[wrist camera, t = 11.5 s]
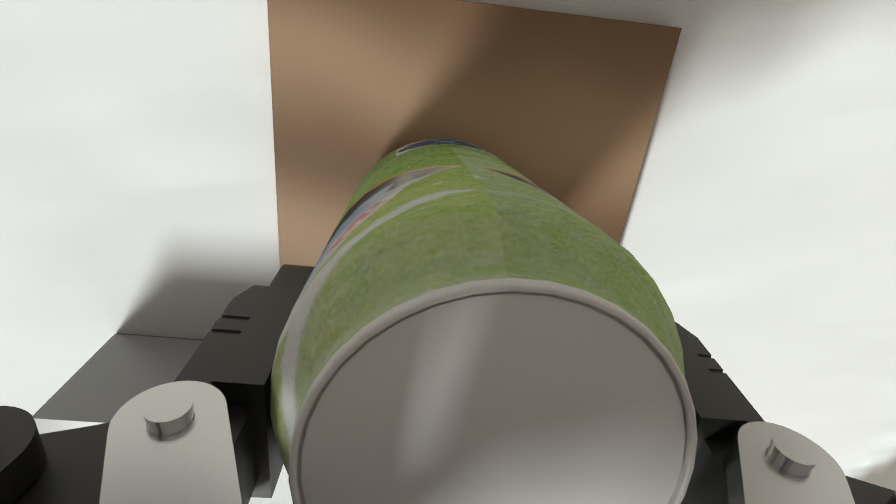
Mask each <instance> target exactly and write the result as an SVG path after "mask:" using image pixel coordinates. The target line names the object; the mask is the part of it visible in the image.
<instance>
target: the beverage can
mask: <svg viewBox="0 0 896 504" xmlns="http://www.w3.org/2000/svg"><path fill="white" fill-rule="evenodd" d="M270 415H271V420H272V425H273V430H274V435H275V440H276V445H277V449H278V452H279V454H280V456H281V459H282V461H283V463H284V466H285V468H286V470H287V473H288V475H289V485H290V491H291V496H292V501H293V504H681V502H682V500H683V498H684V497H685V494H686V491H687V488H688V485H689V482H690V479H691V476H692V473H693V470H694V464H695V456H696V448H697V440H698V438H697V426H696V414H695V408H694V405H693V401H692V398H691V395H690V392H689V388H688V385H687V382H686V380H685V372H684V361H683V349H682V345H681V341H680V338H679V335H678V331H677V328H676V325H675V322H674V318H673V315H672V312H671V310H670V308H669V307H668V305H667V303H666V301H665V299H664V297H663V296H662V294H661V292H660V290H659V288H658V287H657V285H656V283H655V281H654V280H653V278H652V277H651V276H650V275H649V274H648V273H647V271H646V270H645V269H644V268H643V267H642V266H641V264H640V263H639V262H638V261H637V260H636V259H635V257H634V256H633V255H632V254H631V253H630V252H629V251H628V250H626V249H625V248H624V247H623V246H621V245H620V244H619V243H617V242H616V241H615V240H614V239H612V238H611V237H610V236H608V235H607V234H606V233H605V232H603V231H602V230H601V229H599V228H598V227H596V226H595V225H593V224H592V223H591V222H589V221H588V220H586V219H585V218H583V217H582V216H581V215H579V214H578V213H576V212H575V211H573V210H572V209H571V208H569V207H568V206H566V205H565V204H563V203H562V202H561V201H559V200H558V199H556V198H555V197H553V196H552V195H551V194H549V193H548V192H546V191H545V190H543V189H542V188H541V187H539V186H538V185H536V184H535V183H533V182H532V181H531V180H529V179H528V178H526V177H525V176H523V175H522V174H521V173H519V172H518V171H516V170H515V169H513V168H512V167H510V166H509V165H508V164H506V163H505V162H503V161H502V160H500V159H499V158H498V157H496V156H495V155H493V154H492V153H490V152H488V151H486V150H484V149H483V148H481V147H479V146H477V145H474V144H471V143H467V142H464V141H461V140H453V139H444V138H440V139H426V140H422V141H418V142H414V143H410V144H407V145H405V146H403V147H400V148H398V149H396V150H394V151H392V152H391V153H389V154H388V155H386V156H385V157H384V158H382V159H381V160H379V161H378V162H377V163H376V164H375V165H374V166H373V167H372V168H371V169H370V170H369V171H368V172H367V174H366V175H365V176H364V178H363V179H362V181H361V182H360V184H359V185H358V187H357V189H356V191H355V192H354V194H353V196H352V198H351V200H350V202H349V204H348V206H347V207H346V209H345V211H344V213H343V215H342V217H341V219H340V221H339V222H338V224H337V226H336V228H335V230H334V232H333V234H332V236H331V237H330V239H329V241H328V243H327V245H326V247H325V249H324V251H323V253H322V254H321V256H320V258H319V260H318V262H317V264H316V266H315V268H314V269H313V271H312V273H311V275H310V277H309V279H308V281H307V283H306V284H305V286H304V288H303V290H302V292H301V294H300V296H299V298H298V299H297V301H296V303H295V305H294V307H293V309H292V311H291V314H290V316H289V318H288V320H287V323H286V325H285V327H284V329H283V332H282V334H281V336H280V338H279V341H278V345H277V350H276V354H275V359H274V363H273V368H272V373H271V383H270Z"/></svg>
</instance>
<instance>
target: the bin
mask: <svg viewBox="0 0 896 504" xmlns="http://www.w3.org/2000/svg"><path fill="white" fill-rule="evenodd" d="M202 341H203V340H192V339H179V338H165V337H152V336H139V335H126V334H114V335H113V336H112V337H111V338H110V339H109V340H108V341H107V342H106V343H105V344H104V345H103V346H102V347H101V348H100V349H99V350H98V351H97V352H96V353H95V354H94V355H93V356H92V357H91V358H90V359H89V360H88V361H87V362H86V363H85V364H84V365H83V366H82V367H81V368H80V369H79V370H78V371H77V372H76V373H75V374H74V375H73V376H72V377H71V378H70V379H69V380H68V381H67V382H66V383H65V384H64V385H63V386H62V387H61V388H60V389H59V390H58V391H57V392H56V393H55V394H54V395H53V396H52V397H51V398H50V399H49V400H48V401H47V402H46V403H45V404H44V405H43V406H42V407H41V408H40V409H39V410H38V411H37V412H36V413H35V414H34V415H33V418H34V420H35V422H36V425H37V428H38V431H39V434H44V433H50V432H56V431H62V430H68V429H74V428H80V427H86V426H93V425H98V424H103V423H108V422H111V420H112V418H113V416H114V415H115V414H116V412H117V411H118V410H119V409H120V408H121V407H122V406H123V405H124V404H125V403H126V402H128V401H129V400H130V399H132V398H133V397H135V396H137V395H138V394H140V393H142V392H144V391H146V390H148V389H150V388H153V387H156V386H159V385H162V384H166V383H170V382H174V380H175V379H176V378H177V376H178V375H179V373H180V372H181V371H182V369H183V368H184V366H185V365H186V364H187V362H188V361H189V360H190V358H191V357H192V355H193V354H194V353H195V351H196V350H197V348H198V347H199V346H200V344H201V343H202Z"/></svg>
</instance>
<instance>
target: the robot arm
mask: <svg viewBox="0 0 896 504" xmlns="http://www.w3.org/2000/svg"><path fill="white" fill-rule="evenodd" d="M314 268H315V267H312V266H301V265H289V264H284V265H283V266H282V267H281V268H280V270H279V272H278V273H277V275H276V277H275V278H274V280H273V281H272V283H271V285H270V286H269V287H264V286H253V287H251V288H249V289H248V290H246V291H245V292H243V293H241V294H240V295H238V296H237V297H235V298H233V300H232V301H231V303H230V304H229V305H228V307H227V308H226V309H225V311H224V312H223V314H222V317H221V318H219V319H218V321H217V322H216V323H215V325H214V326H213V328H212V331H211V332H209V333H208V334H207V336H206V337H205V339H204V340H203V341H202V343H201V344H200V346H199V347H198V348H197V350H196V351H195V353H194V354H193V355H192V357H191V358H190V360H189V361H188V362H187V364H186V365H185V366H184V368H183V369H182V371H181V372H180V373H179V375H178V376H177V378H176V379H175V380H174V382H170V383H166V384H162V385H159V386H156V387H153V388H150V389H148V390H146V391H144V392H142V393H140V394H138V395H137V396H135V397H133V398H132V399H130V400H129V401H128V402H126V403H125V404H124V405H123V406H122V407H121V408H120V409H119V410H118V411H117V412H116V414H115V415H114V416H113V418H112V420H111V422H108V423H103V424H98V425H93V426H86V427H80V428H74V429H68V430H62V431H56V432H50V433H44V434H39V431H38V428H37V425H36V422H35V420H34V418H33V416H32V415H31V414H30V413H29V412H27V411H25V410H23V409H20V408H16V407H10V406H0V504H248V503H249V501H250V498H251V497H262V498H272V495H273V492H274V490H275V487H276V484H277V481H278V478H279V475H280V472H281V469H282V466H283V461H282V459H281V456H280V454H279V452H278V449H277V445H276V440H275V435H274V430H273V425H272V420H271V415H270V383H271V373H272V368H273V363H274V359H275V354H276V350H277V345H278V341H279V338H280V336H281V334H282V332H283V329H284V327H285V325H286V323H287V320H288V318H289V316H290V314H291V311H292V309H293V307H294V305H295V303H296V301H297V299H298V298H299V296H300V294H301V292H302V290H303V288H304V286H305V284H306V283H307V281H308V279H309V277H310V275H311V273H312V271H313V269H314ZM675 325H676V328H677V331H678V335H679V338H680V341H681V345H682V349H683V361H684V372H685V380H686V382H687V385H688V388H689V392H690V395H691V398H692V401H693V405H694V408H695V414H696V426H697V438H698V440H697V448H696V456H695V464H694V470H693V473H692V476H691V479H690V482H689V485H688V488H687V491H686V494H685V497H684V498H683V500H682V502H681V504H896V491H893V490H890V489H887V488H884V487H880V486H877V485H874V484H870V483H867V482H864V481H861V480H857V479H854V478H851V477H848V476H845V474H844V472H843V470H842V469H841V467H840V466H839V465H838V463H837V462H836V461H835V460H834V459H833V458H832V457H831V456H830V455H829V454H828V453H827V452H826V451H825V450H824V449H822V448H821V447H820V446H819V445H817V444H816V443H814V442H813V441H811V440H810V439H808V438H807V437H805V436H803V435H801V434H799V433H797V432H795V431H793V430H791V429H789V428H786V427H784V426H780V425H777V424H774V423H769V422H765V421H764V420H763V419H762V417H761V416H760V415H759V414H758V413H757V411H756V410H755V409H754V408H753V406H752V405H751V404H750V403H749V401H748V400H747V399H746V398H745V396H744V395H743V394H742V393H741V391H740V390H739V389H738V388H737V386H736V385H735V384H734V383H733V381H732V380H731V379H730V378H729V377H728V375H727V374H726V373H723V369H722V368H721V367H720V365H719V364H718V363H717V362H716V360H715V359H713V358H711V354H710V353H709V352H708V350H707V349H706V348H705V347H704V345H703V344H702V343H701V342H700V341H699V339H698V338H697V337H696V336H694V335H693V334H691V333H690V332H689V331H687V330H686V329H685V328H683V327H682V326H680V325H679V324H678V323H676V322H675Z"/></svg>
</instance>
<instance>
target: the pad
mask: <svg viewBox="0 0 896 504" xmlns="http://www.w3.org/2000/svg"><path fill="white" fill-rule="evenodd" d="M267 4H268V25H269V46H270V67H271V88H272V109H273V130H274V151H275V172H276V193H277V214H278V235H279V256H280V268H281V267H282V266H283V265H284V264H289V265H301V266H312V267H315V266H316V264H317V262H318V260H319V258H320V256H321V254H322V253H323V251H324V249H325V247H326V245H327V243H328V241H329V239H330V237H331V236H332V234H333V232H334V230H335V228H336V226H337V224H338V222H339V221H340V219H341V217H342V215H343V213H344V211H345V209H346V207H347V206H348V204H349V202H350V200H351V198H352V196H353V194H354V192H355V191H356V189H357V187H358V185H359V184H360V182H361V181H362V179H363V178H364V176H365V175H366V174H367V172H368V171H369V170H370V169H371V168H372V167H373V166H374V165H375V164H376V163H377V162H378V161H379V160H381V159H382V158H384V157H385V156H386V155H388V154H389V153H391V152H392V151H394V150H396V149H398V148H400V147H403V146H405V145H407V144H410V143H414V142H418V141H422V140H426V139H440V138H444V139H453V140H461V141H464V142H467V143H471V144H474V145H477V146H479V147H481V148H483V149H484V150H486V151H488V152H490V153H492V154H493V155H495V156H496V157H498V158H499V159H500V160H502V161H503V162H505V163H506V164H508V165H509V166H510V167H512V168H513V169H515V170H516V171H518V172H519V173H521V174H522V175H523V176H525V177H526V178H528V179H529V180H531V181H532V182H533V183H535V184H536V185H538V186H539V187H541V188H542V189H543V190H545V191H546V192H548V193H549V194H551V195H552V196H553V197H555V198H556V199H558V200H559V201H561V202H562V203H563V204H565V205H566V206H568V207H569V208H571V209H572V210H573V211H575V212H576V213H578V214H579V215H581V216H582V217H583V218H585V219H586V220H588V221H589V222H591V223H592V224H593V225H595V226H596V227H598V228H599V229H601V230H602V231H603V232H605V233H606V234H607V235H608V236H610V237H611V238H612V239H614V240H615V241H616V242H617V243H619V241H620V238H621V235H622V231H623V228H624V224H625V221H626V217H627V214H628V211H629V207H630V204H631V200H632V197H633V193H634V190H635V187H636V183H637V180H638V176H639V173H640V169H641V166H642V163H643V159H644V156H645V152H646V149H647V145H648V142H649V139H650V135H651V132H652V128H653V125H654V121H655V118H656V115H657V111H658V108H659V104H660V101H661V97H662V94H663V91H664V87H665V84H666V80H667V77H668V74H669V70H670V67H671V63H672V60H673V56H674V53H675V50H676V46H677V43H678V39H679V36H680V32H681V29H682V28H676V27H668V26H660V25H652V24H644V23H636V22H628V21H620V20H612V19H604V18H596V17H588V16H580V15H572V14H564V13H556V12H548V11H539V10H531V9H523V8H515V7H507V6H499V5H491V4H483V3H475V2H467V1H459V0H267Z"/></svg>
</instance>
